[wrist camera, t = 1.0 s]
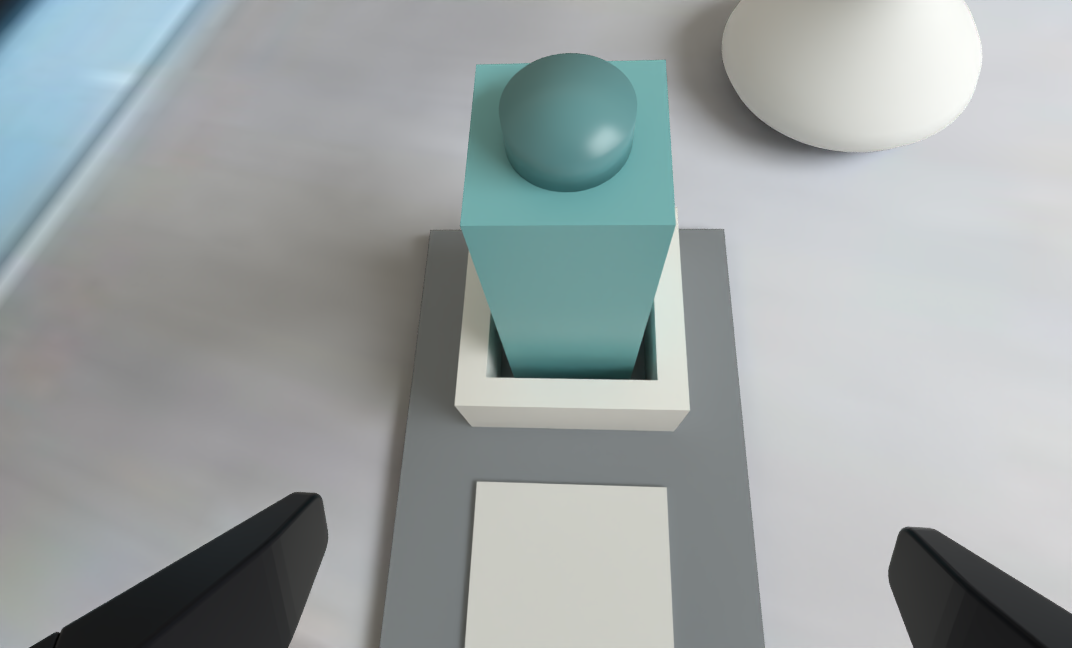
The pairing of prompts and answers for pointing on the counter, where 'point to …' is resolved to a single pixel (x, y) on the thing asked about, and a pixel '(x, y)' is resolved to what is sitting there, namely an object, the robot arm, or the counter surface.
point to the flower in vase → (853, 68)
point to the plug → (570, 209)
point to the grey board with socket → (575, 479)
